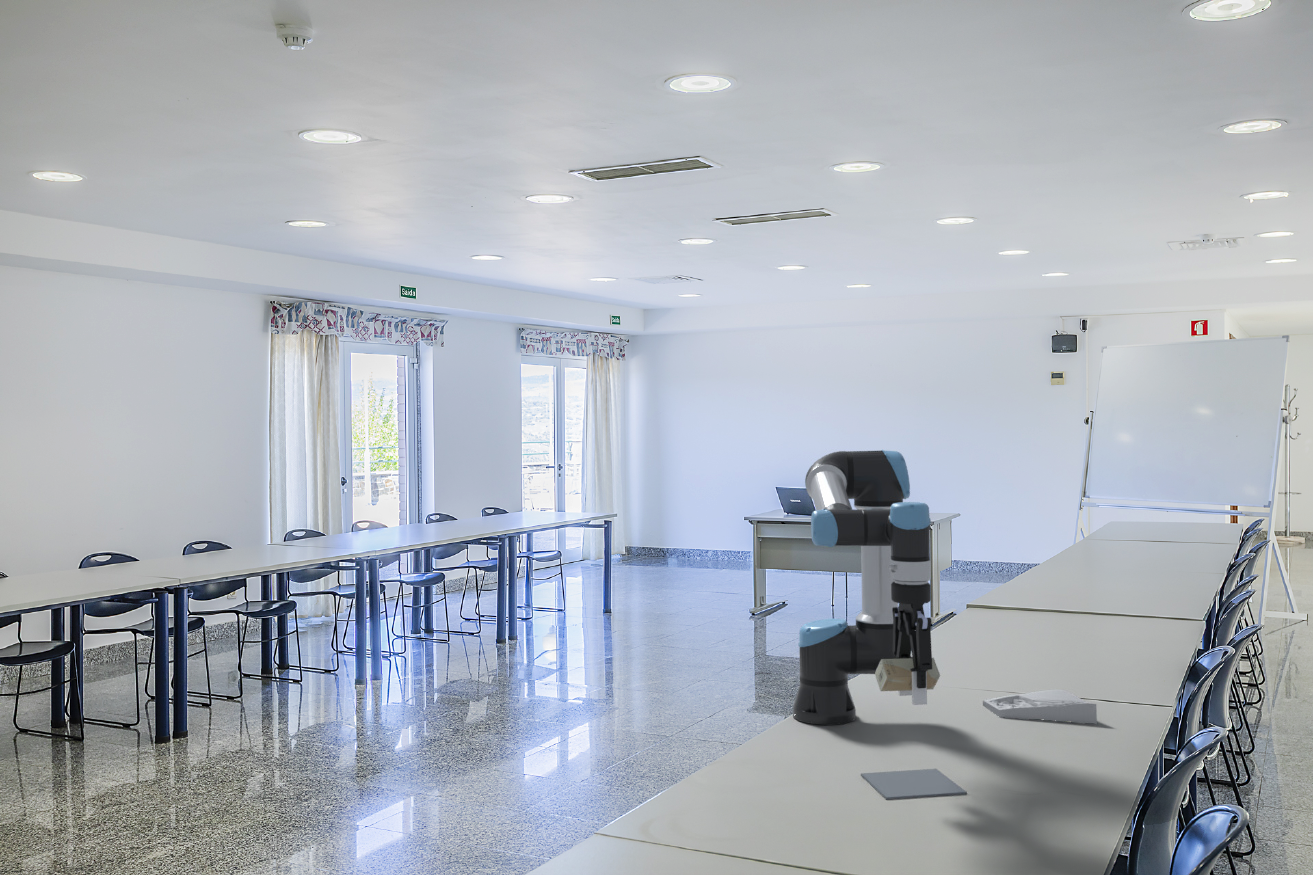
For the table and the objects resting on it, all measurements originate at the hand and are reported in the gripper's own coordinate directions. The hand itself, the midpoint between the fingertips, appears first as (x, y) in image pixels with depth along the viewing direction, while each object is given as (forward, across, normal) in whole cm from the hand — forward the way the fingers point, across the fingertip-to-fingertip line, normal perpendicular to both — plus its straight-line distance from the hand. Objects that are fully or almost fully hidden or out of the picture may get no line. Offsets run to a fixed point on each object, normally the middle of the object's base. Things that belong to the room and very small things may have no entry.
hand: (912, 699), depth 200 cm
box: (-5, 0, -7) cm, 8 cm away
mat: (+17, 0, 0) cm, 17 cm away
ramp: (+18, -42, +49) cm, 67 cm away
